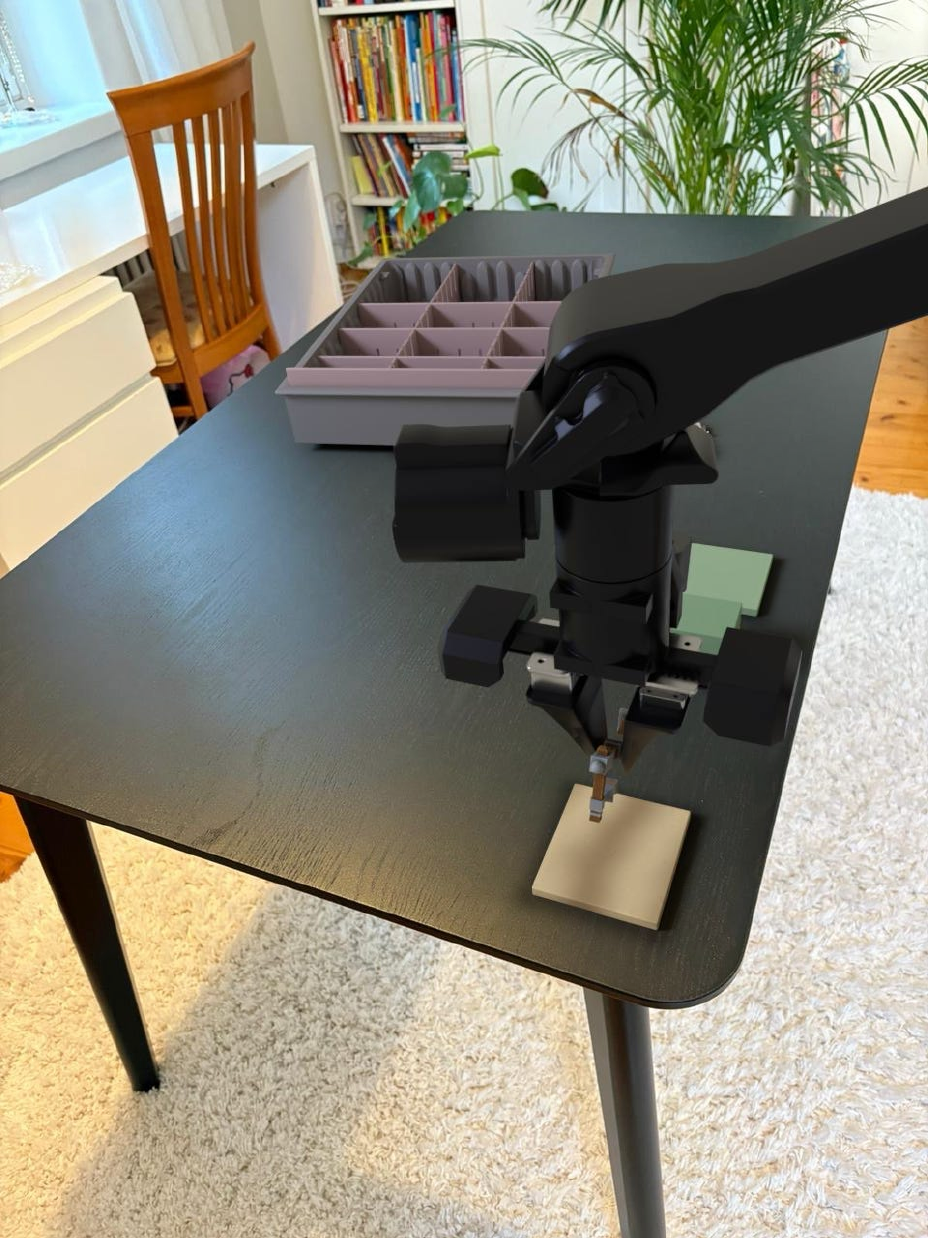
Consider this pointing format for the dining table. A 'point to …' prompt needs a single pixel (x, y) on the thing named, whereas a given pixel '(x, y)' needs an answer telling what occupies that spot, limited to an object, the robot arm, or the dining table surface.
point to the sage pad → (729, 575)
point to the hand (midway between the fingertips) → (615, 763)
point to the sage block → (708, 620)
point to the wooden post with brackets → (605, 770)
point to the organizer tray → (432, 345)
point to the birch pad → (614, 857)
